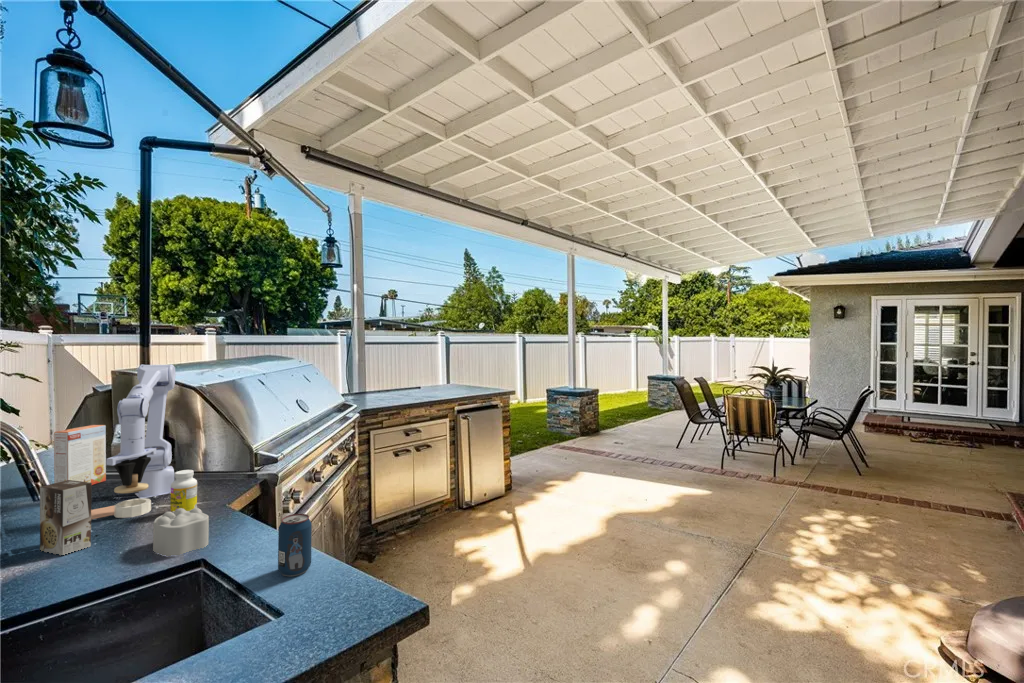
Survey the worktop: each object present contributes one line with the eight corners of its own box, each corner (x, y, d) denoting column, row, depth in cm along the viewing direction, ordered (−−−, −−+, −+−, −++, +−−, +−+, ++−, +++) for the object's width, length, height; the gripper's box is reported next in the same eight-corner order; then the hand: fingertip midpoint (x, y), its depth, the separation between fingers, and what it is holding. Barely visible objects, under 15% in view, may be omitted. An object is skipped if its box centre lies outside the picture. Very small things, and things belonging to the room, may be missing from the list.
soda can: (298, 561, 115) (299, 510, 115) (317, 568, 112) (318, 516, 112) (271, 573, 109) (271, 519, 109) (290, 580, 106) (291, 525, 106)
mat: (119, 506, 152) (119, 504, 152) (126, 513, 145) (126, 511, 145) (76, 514, 144) (76, 512, 144) (82, 523, 138) (82, 521, 138)
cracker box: (91, 480, 179) (92, 424, 179) (106, 481, 178) (107, 424, 178) (52, 492, 165) (52, 431, 165) (68, 493, 164) (68, 431, 165)
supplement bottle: (164, 516, 143) (165, 473, 143) (187, 509, 149) (187, 467, 150) (179, 519, 141) (180, 475, 141) (202, 512, 147) (202, 470, 147)
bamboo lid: (134, 484, 149) (135, 470, 150) (155, 487, 148) (155, 472, 148) (107, 491, 142) (107, 476, 142) (128, 494, 140) (129, 479, 140)
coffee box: (92, 546, 122) (93, 482, 122) (61, 557, 116) (62, 489, 116) (69, 541, 125) (70, 478, 125) (38, 551, 119) (38, 485, 119)
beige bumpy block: (169, 560, 115) (169, 523, 115) (143, 547, 122) (143, 513, 122) (214, 544, 124) (214, 510, 124) (187, 534, 131) (188, 501, 131)
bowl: (146, 507, 151) (146, 496, 151) (153, 514, 145) (154, 502, 145) (111, 515, 144) (111, 503, 144) (118, 521, 139) (118, 509, 139)
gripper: (142, 433, 152) (141, 476, 152) (97, 442, 138) (96, 490, 138) (162, 434, 151) (161, 477, 151) (119, 443, 137) (118, 491, 137)
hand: (132, 483), depth 145 cm, fingers closed on bamboo lid, 3 cm apart
